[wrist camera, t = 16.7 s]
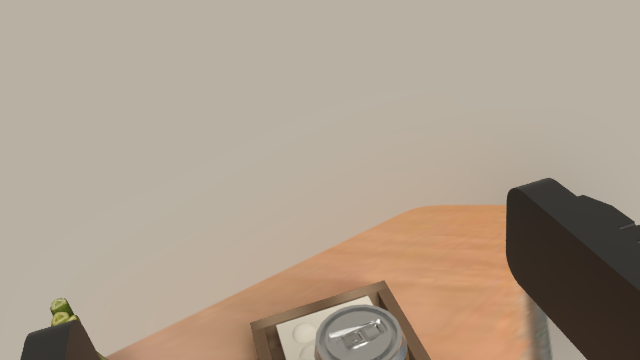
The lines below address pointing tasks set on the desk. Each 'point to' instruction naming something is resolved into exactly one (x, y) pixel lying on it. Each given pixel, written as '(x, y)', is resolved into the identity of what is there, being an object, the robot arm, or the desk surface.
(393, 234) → the desk surface
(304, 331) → the egg carton
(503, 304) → the desk surface
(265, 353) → the crate
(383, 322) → the beer can
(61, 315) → the fennel bulb
